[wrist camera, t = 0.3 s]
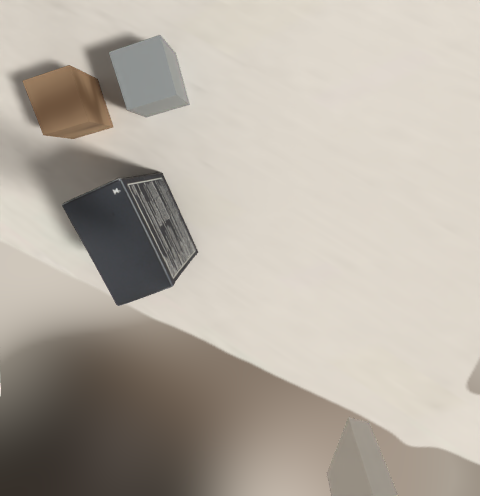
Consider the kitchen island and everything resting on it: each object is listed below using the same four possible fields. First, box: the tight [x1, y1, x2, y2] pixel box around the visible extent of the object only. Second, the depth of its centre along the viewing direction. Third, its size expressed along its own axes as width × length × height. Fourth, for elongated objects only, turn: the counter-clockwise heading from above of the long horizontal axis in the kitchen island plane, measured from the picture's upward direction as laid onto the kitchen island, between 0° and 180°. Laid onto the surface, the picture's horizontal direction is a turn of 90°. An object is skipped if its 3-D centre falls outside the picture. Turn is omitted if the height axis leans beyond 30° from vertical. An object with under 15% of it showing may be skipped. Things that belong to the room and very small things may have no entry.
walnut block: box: [23, 65, 113, 139], centre depth 32 cm, size 5×5×5 cm
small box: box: [62, 172, 198, 306], centre depth 32 cm, size 11×6×10 cm, turn 22°
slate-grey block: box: [109, 35, 190, 117], centre depth 30 cm, size 5×5×5 cm
